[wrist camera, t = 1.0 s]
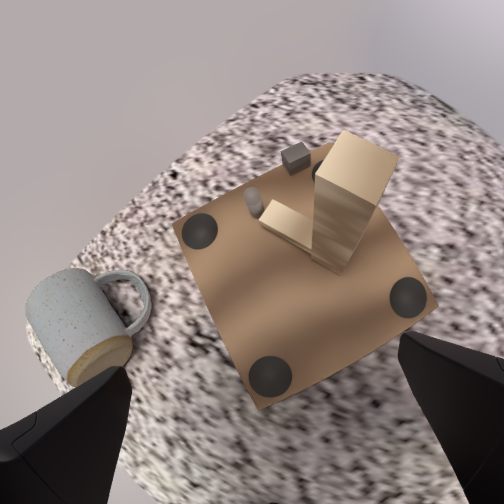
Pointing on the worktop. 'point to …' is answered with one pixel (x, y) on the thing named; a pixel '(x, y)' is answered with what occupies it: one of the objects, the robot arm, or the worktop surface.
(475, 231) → the worktop surface
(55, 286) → the ceramic mug
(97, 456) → the robot arm
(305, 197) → the stool seat
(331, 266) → the hinged leg
